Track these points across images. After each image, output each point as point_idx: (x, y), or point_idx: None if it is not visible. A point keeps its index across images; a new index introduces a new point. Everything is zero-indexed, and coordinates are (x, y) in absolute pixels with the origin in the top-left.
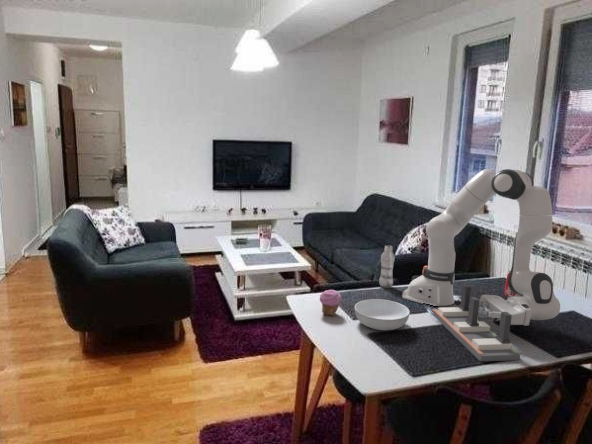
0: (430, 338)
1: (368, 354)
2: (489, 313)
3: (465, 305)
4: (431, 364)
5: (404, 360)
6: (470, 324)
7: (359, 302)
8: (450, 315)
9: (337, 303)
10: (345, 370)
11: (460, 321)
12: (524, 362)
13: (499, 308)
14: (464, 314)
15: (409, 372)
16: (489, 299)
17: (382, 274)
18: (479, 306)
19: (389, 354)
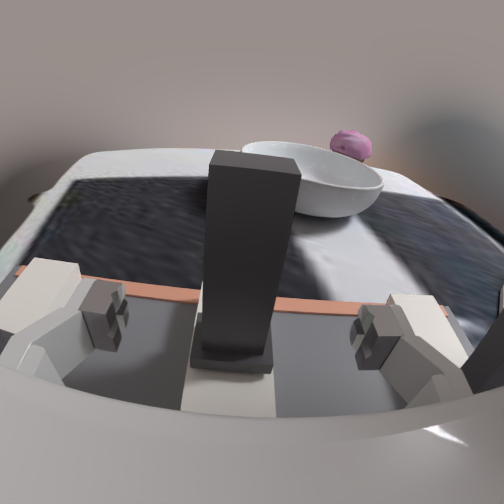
0: None
1: (171, 165)
2: (87, 282)
3: (466, 371)
4: (86, 204)
5: (126, 184)
6: (199, 316)
7: (347, 157)
8: None
9: (334, 147)
10: (139, 149)
11: (340, 365)
12: None
13: (67, 388)
14: None
15: (88, 180)
16: (458, 427)
17: None
18: (357, 360)
19: (158, 177)
